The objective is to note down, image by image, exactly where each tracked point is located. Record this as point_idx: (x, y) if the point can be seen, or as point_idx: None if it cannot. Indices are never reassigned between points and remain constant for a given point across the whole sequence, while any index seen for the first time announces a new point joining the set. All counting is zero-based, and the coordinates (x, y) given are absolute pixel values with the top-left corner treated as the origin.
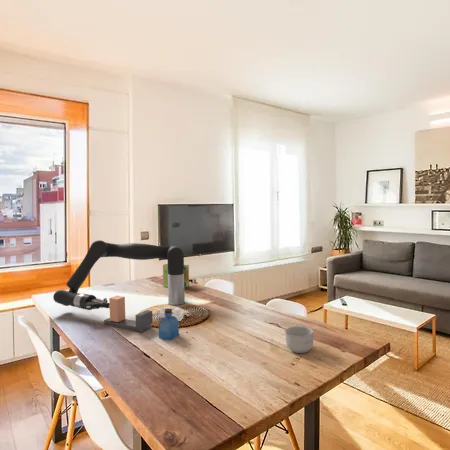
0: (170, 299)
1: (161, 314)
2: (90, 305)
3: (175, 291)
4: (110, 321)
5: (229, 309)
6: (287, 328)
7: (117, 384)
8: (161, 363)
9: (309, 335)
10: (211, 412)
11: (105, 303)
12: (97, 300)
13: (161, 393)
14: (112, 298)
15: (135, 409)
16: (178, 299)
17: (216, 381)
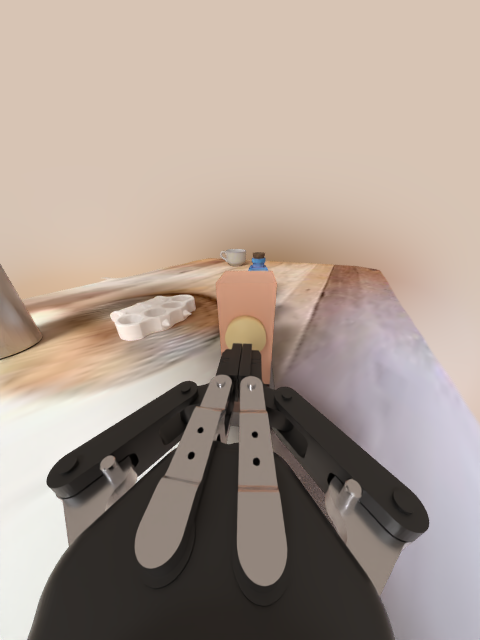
0: (12, 335)
1: (170, 316)
2: (358, 458)
3: (15, 298)
4: (272, 381)
5: (122, 290)
6: (232, 252)
7: (386, 289)
8: (322, 285)
9: (241, 249)
10: (338, 268)
11: (250, 356)
12: (203, 483)
13: (354, 277)
14: (272, 278)
15: (383, 278)
16: (33, 321)
17: (309, 271)
